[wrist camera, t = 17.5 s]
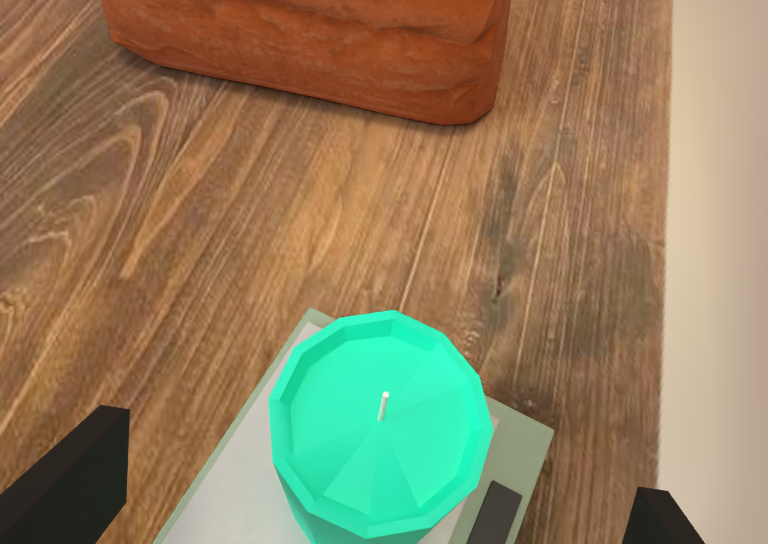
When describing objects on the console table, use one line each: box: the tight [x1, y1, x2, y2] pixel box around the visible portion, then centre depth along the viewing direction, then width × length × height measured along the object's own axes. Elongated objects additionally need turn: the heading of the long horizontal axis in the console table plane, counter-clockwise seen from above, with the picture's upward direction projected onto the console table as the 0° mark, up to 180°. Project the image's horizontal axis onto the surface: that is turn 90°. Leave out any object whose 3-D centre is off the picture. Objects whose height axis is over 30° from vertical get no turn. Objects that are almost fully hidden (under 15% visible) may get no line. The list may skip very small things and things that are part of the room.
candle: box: [268, 310, 494, 544], centre depth 19 cm, size 6×6×12 cm
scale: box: [152, 307, 554, 544], centre depth 26 cm, size 13×13×3 cm
